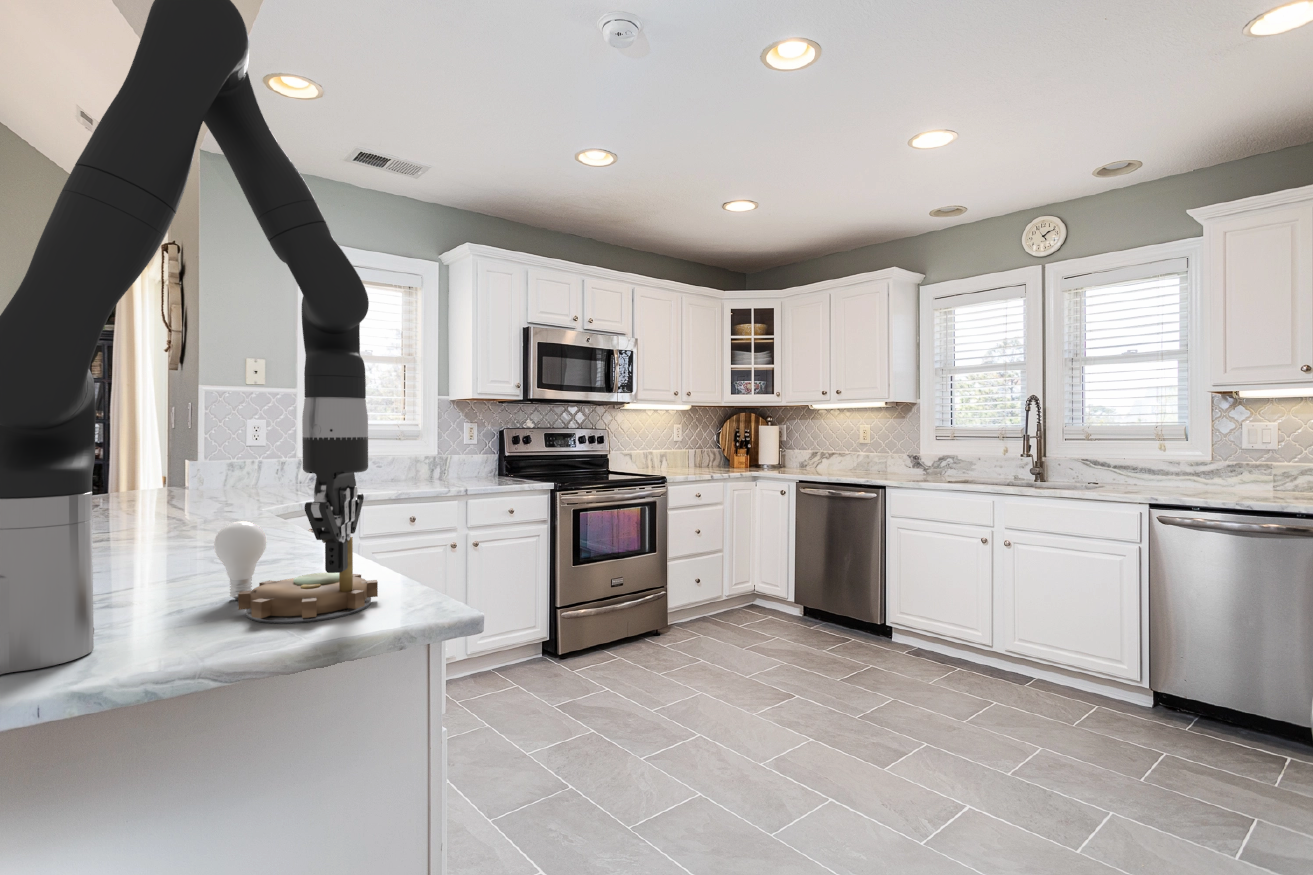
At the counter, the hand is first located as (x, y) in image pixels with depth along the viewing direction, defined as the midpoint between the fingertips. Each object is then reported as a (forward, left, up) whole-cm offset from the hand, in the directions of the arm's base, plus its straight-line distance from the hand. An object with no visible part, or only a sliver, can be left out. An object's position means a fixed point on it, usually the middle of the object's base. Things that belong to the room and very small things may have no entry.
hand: (336, 571), depth 87 cm
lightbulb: (+1, +20, -6) cm, 21 cm away
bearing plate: (+2, +8, -6) cm, 10 cm away
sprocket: (+2, +8, -6) cm, 10 cm away
